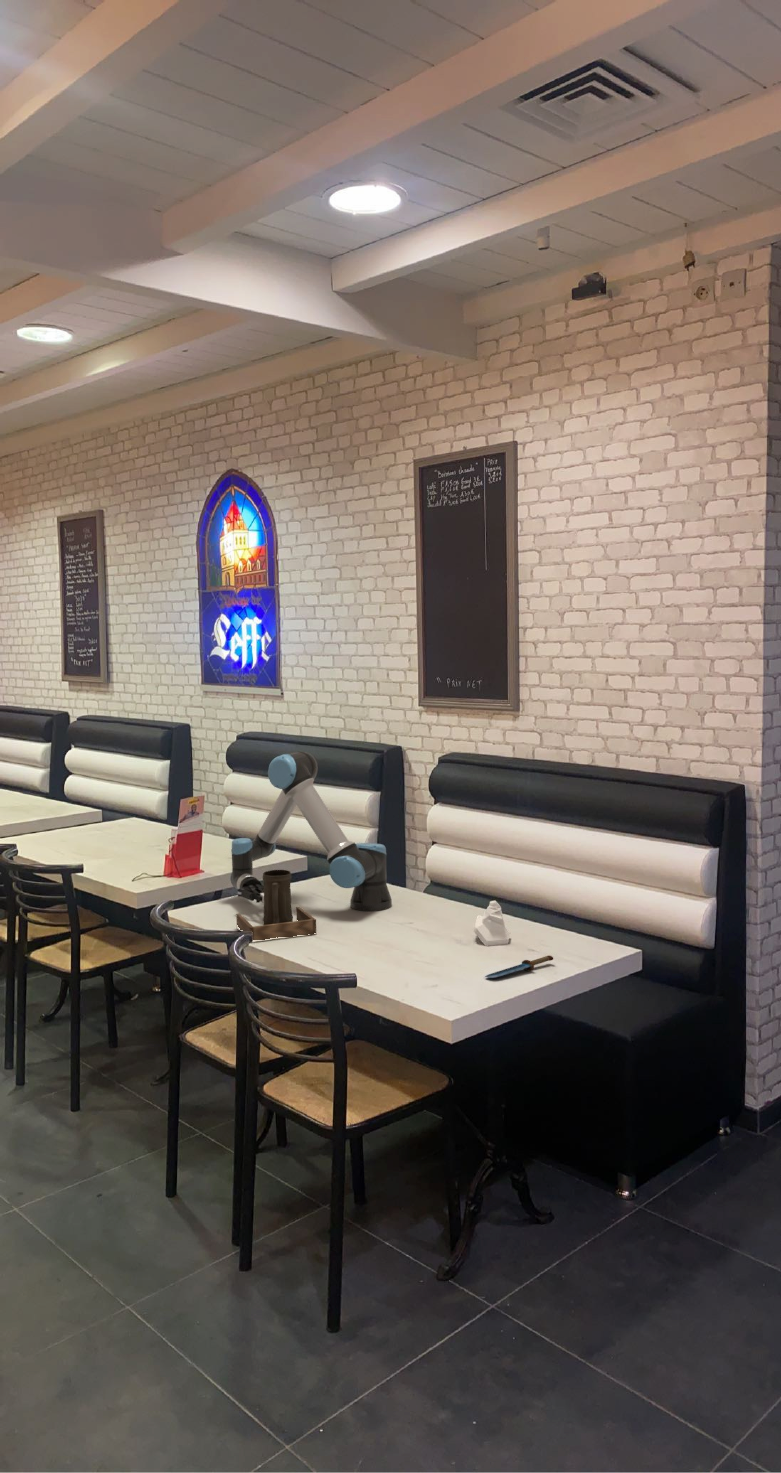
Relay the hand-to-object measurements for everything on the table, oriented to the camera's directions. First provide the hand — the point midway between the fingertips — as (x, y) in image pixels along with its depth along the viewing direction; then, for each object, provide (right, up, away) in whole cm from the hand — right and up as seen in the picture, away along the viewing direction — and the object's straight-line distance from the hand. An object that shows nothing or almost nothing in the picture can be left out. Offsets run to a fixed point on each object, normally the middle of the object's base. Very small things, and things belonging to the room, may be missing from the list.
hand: (267, 901), depth 356 cm
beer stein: (+5, -9, -6) cm, 12 cm away
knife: (+80, -12, -55) cm, 98 cm away
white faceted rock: (+75, -9, -22) cm, 79 cm away
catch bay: (+4, -9, -8) cm, 13 cm away
